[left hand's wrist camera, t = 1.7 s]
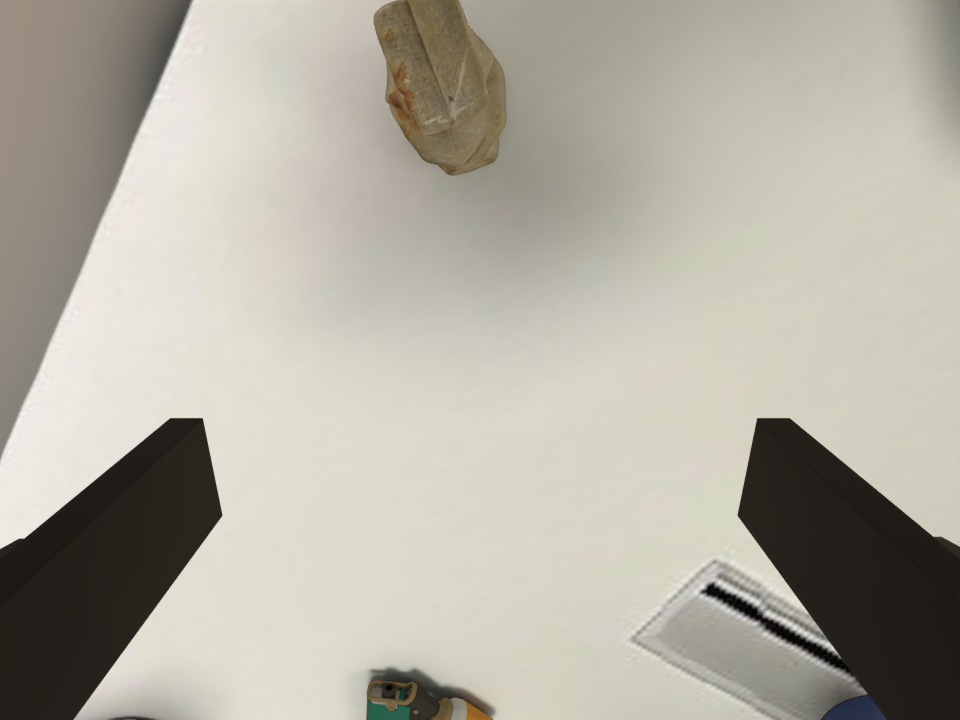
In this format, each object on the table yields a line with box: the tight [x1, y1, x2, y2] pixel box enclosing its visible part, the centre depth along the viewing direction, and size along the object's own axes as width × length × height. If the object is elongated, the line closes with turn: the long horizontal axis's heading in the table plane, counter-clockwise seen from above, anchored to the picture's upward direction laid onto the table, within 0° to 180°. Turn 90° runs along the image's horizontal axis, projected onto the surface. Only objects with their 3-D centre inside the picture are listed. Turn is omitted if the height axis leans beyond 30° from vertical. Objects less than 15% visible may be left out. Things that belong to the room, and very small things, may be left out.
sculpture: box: [374, 0, 506, 175], centre depth 28 cm, size 6×7×15 cm
